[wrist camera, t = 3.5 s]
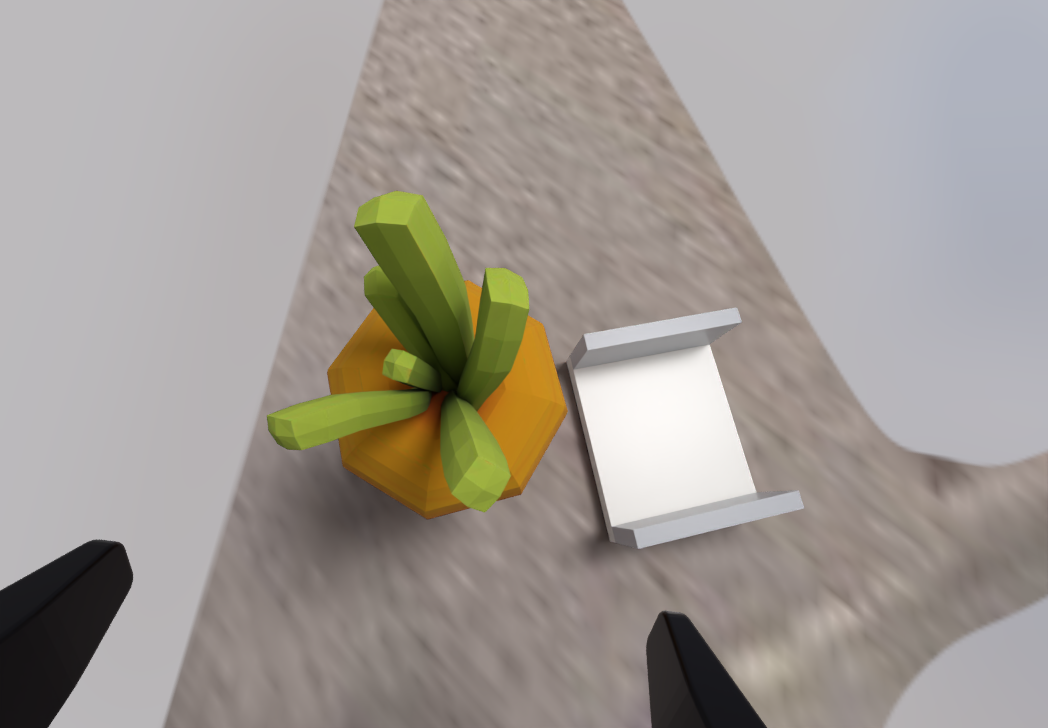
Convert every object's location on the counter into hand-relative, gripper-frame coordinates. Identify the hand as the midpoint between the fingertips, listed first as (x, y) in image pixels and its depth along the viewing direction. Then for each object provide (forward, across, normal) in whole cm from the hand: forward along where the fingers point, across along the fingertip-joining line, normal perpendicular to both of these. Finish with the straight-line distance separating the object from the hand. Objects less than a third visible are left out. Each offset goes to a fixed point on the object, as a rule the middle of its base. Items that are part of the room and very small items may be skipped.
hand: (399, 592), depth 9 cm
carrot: (+10, 0, +5) cm, 12 cm away
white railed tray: (+12, -8, +4) cm, 15 cm away
